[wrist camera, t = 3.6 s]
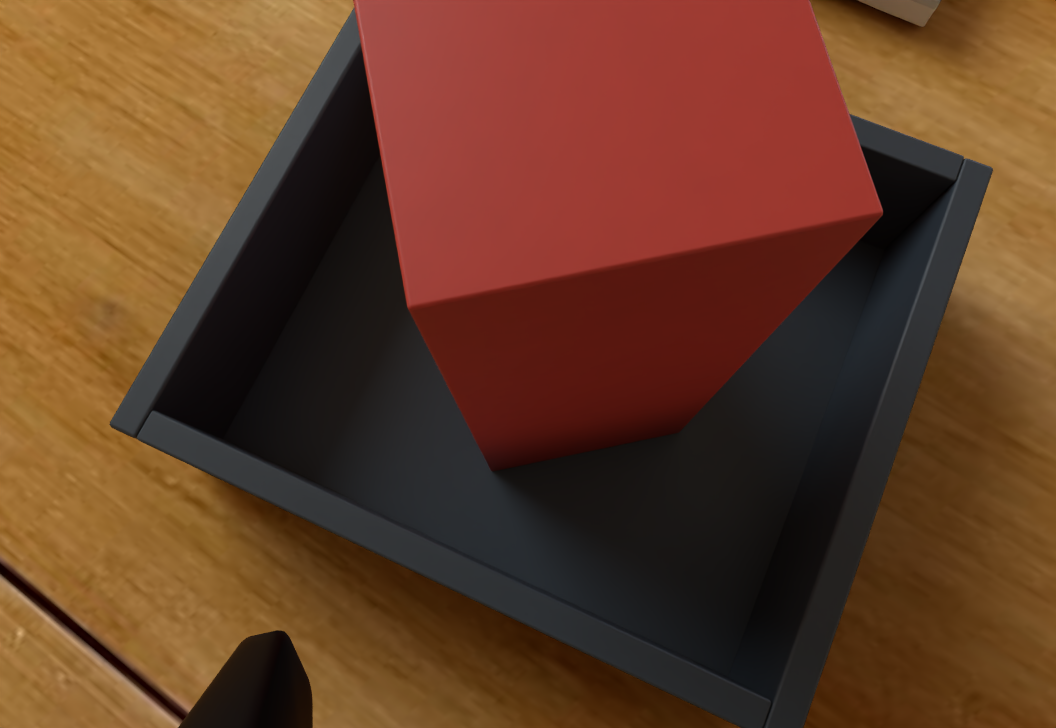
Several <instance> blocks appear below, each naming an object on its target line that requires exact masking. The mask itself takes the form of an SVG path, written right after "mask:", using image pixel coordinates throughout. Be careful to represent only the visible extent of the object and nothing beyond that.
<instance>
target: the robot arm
mask: <svg viewBox="0 0 1056 728" xmlns="http://www.w3.org/2000/svg"><path fill="white" fill-rule="evenodd" d="M178 728H313V717H312V691H311V686H310V682H309V679H308V677H307V674H306V672H305V670H304V668H303V666H302V663H301V661H300V659H299V657H298V655H297V652H296V650H295V648H294V646H293V644H292V641H291V639H290V638H289V636H288V635H287V634H286V633H285V632H284V631H273V632H268V633H263V634H259V635H254V636H250V637H248V638H246V639H245V640H243V641H242V642H241V643H240V644H239V646H238V647H237V648H236V650H235V651H234V652H233V654H232V655H231V657H230V658H229V659H228V661H227V662H226V663H225V665H224V666H223V667H222V669H221V670H220V672H219V673H218V674H217V676H216V677H215V678H214V680H213V681H212V682H211V684H210V685H209V686H208V688H207V689H206V691H205V692H204V693H203V695H202V696H201V697H200V699H199V700H198V701H197V703H196V704H195V706H194V707H193V708H192V710H191V711H190V712H189V714H188V715H187V716H186V718H185V719H184V720H183V722H182V723H181V725H180V726H179V727H178Z"/></svg>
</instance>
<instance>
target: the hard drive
mask: <svg viewBox="0 0 1056 728" xmlns="http://www.w3.org/2000/svg"><path fill="white" fill-rule="evenodd" d="M858 1H860V2H862V3H865V4H867V5H869V6H871V7H874V8H876V9H878V10H881V11H883V12H886V13H888V14H891V15H893V16H896V17H899V18H901V19H903V20H906V21H908V22H910V23H913V24H916V25H918V26H921V27H924V26H925V24H926V23H927V21H928V19H929V18H930V16H931V15H932V14H933V12H934V11H935V10H936V8H937V7H938V5H939V3H940V1H941V0H858Z"/></svg>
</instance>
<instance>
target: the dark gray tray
mask: <svg viewBox="0 0 1056 728" xmlns="http://www.w3.org/2000/svg"><path fill="white" fill-rule="evenodd" d="M849 115H850V118H851V120H852V123H853V126H854V129H855V132H856V135H857V138H858V140H859V143H860V146H861V149H862V152H863V155H864V158H865V160H866V163H867V166H868V169H869V172H870V175H871V178H872V180H873V183H874V186H875V189H876V192H877V195H878V198H879V200H880V203H881V206H882V209H883V215H882V216H881V217H880V218H879V220H878V221H877V222H876V223H875V224H874V225H873V226H872V227H871V228H870V229H869V230H868V231H867V232H866V233H865V234H864V236H863V237H862V238H861V239H860V240H859V241H858V242H857V243H856V244H855V245H854V246H853V247H852V248H851V249H850V250H849V252H848V253H847V254H846V255H845V256H844V257H843V258H842V259H841V260H840V261H839V262H838V263H837V264H836V265H835V267H834V268H833V269H832V270H831V271H830V272H829V273H828V274H827V275H826V276H825V277H824V278H823V279H822V280H821V281H820V283H819V284H818V285H817V286H816V287H815V288H814V289H813V290H812V291H811V292H810V293H809V294H808V295H807V296H806V297H805V299H804V300H803V301H802V302H801V303H800V304H799V305H798V306H797V307H796V308H795V309H794V310H793V311H792V312H791V314H790V315H789V316H788V317H787V318H786V319H785V320H784V321H783V322H782V323H781V324H780V325H779V326H778V327H777V328H776V330H775V331H774V332H773V333H772V334H771V335H770V336H769V337H768V338H767V339H766V340H765V341H764V342H763V343H762V344H761V346H760V347H759V348H758V349H757V350H756V351H755V352H754V353H753V354H752V355H751V356H750V357H749V358H748V359H747V361H746V362H745V363H744V364H743V365H742V366H741V367H740V368H739V369H738V370H737V371H736V372H735V373H734V374H733V375H732V377H731V378H730V379H729V380H728V381H727V382H726V383H725V384H724V385H723V386H722V387H721V388H720V389H719V390H718V391H717V393H716V394H715V395H714V396H713V397H712V398H711V399H710V400H709V401H708V402H707V403H706V404H705V405H704V406H703V408H702V409H701V410H700V411H699V412H698V413H697V414H696V415H695V416H694V417H693V418H692V419H691V420H690V421H689V422H688V424H687V425H686V426H685V427H684V428H683V429H682V430H681V431H680V432H679V433H675V434H670V435H665V436H660V437H655V438H651V439H646V440H641V441H636V442H631V443H627V444H622V445H617V446H612V447H607V448H603V449H598V450H593V451H588V452H583V453H579V454H574V455H569V456H564V457H559V458H555V459H550V460H545V461H540V462H535V463H531V464H526V465H521V466H516V467H511V468H507V469H502V470H497V471H491V470H490V468H489V466H488V464H487V462H486V460H485V458H484V456H483V454H482V452H481V450H480V448H479V446H478V444H477V442H476V440H475V438H474V437H473V435H472V433H471V431H470V429H469V427H468V425H467V423H466V421H465V419H464V417H463V415H462V413H461V411H460V409H459V407H458V405H457V403H456V401H455V399H454V397H453V395H452V394H451V392H450V390H449V388H448V386H447V384H446V382H445V380H444V378H443V376H442V374H441V372H440V370H439V368H438V366H437V364H436V362H435V360H434V358H433V356H432V354H431V352H430V351H429V349H428V347H427V345H426V343H425V341H424V339H423V337H422V335H421V333H420V331H419V329H418V327H417V325H416V323H415V321H414V319H413V317H412V315H411V313H410V311H409V309H408V308H407V303H406V297H405V291H404V286H403V280H402V274H401V269H400V263H399V257H398V252H397V246H396V240H395V235H394V229H393V223H392V218H391V212H390V206H389V200H388V195H387V189H386V183H385V178H384V172H383V166H382V161H381V155H380V149H379V144H378V138H377V132H376V127H375V121H374V115H373V110H372V104H371V98H370V93H369V87H368V81H367V76H366V70H365V64H364V59H363V53H362V47H361V42H360V36H359V30H358V25H357V19H356V13H355V8H354V9H353V10H352V12H351V14H350V16H349V17H348V19H347V21H346V22H345V24H344V26H343V27H342V29H341V31H340V32H339V34H338V36H337V38H336V39H335V41H334V43H333V44H332V46H331V48H330V49H329V51H328V53H327V55H326V56H325V58H324V60H323V61H322V63H321V65H320V66H319V68H318V70H317V72H316V73H315V75H314V77H313V78H312V80H311V82H310V83H309V85H308V87H307V89H306V90H305V92H304V94H303V95H302V97H301V99H300V100H299V102H298V104H297V106H296V107H295V109H294V111H293V112H292V114H291V116H290V117H289V119H288V121H287V123H286V124H285V126H284V128H283V129H282V131H281V133H280V134H279V136H278V138H277V140H276V141H275V143H274V145H273V146H272V148H271V150H270V151H269V153H268V155H267V157H266V158H265V160H264V162H263V163H262V165H261V167H260V168H259V170H258V172H257V174H256V175H255V177H254V179H253V180H252V182H251V184H250V185H249V187H248V189H247V190H246V192H245V194H244V196H243V197H242V199H241V201H240V202H239V204H238V206H237V207H236V209H235V211H234V213H233V214H232V216H231V218H230V219H229V221H228V223H227V224H226V226H225V228H224V230H223V231H222V233H221V235H220V236H219V238H218V240H217V241H216V243H215V245H214V247H213V248H212V250H211V252H210V253H209V255H208V257H207V258H206V260H205V262H204V264H203V265H202V267H201V269H200V270H199V272H198V274H197V275H196V277H195V279H194V281H193V282H192V284H191V286H190V287H189V289H188V291H187V292H186V294H185V296H184V298H183V299H182V301H181V303H180V304H179V306H178V308H177V309H176V311H175V313H174V315H173V316H172V318H171V320H170V321H169V323H168V325H167V326H166V328H165V330H164V332H163V333H162V335H161V337H160V338H159V340H158V342H157V343H156V345H155V347H154V348H153V350H152V352H151V354H150V355H149V357H148V359H147V360H146V362H145V364H144V365H143V367H142V369H141V371H140V372H139V374H138V376H137V377H136V379H135V381H134V382H133V384H132V386H131V388H130V389H129V391H128V393H127V394H126V396H125V398H124V399H123V401H122V403H121V405H120V406H119V408H118V410H117V411H116V413H115V415H114V416H113V418H112V420H111V422H110V426H111V427H112V428H114V429H116V430H118V431H120V432H122V433H124V434H126V435H128V436H131V437H133V438H136V439H138V440H139V441H141V442H143V443H145V444H147V445H149V446H151V447H153V448H156V449H158V450H160V451H162V452H164V453H166V454H168V455H170V456H172V457H174V458H177V459H179V460H181V461H183V462H185V463H187V464H189V465H191V466H193V467H195V468H198V469H200V470H202V471H204V472H206V473H208V474H210V475H212V476H214V477H216V478H219V479H221V480H223V481H225V482H227V483H229V484H231V485H233V486H235V487H237V488H239V489H242V490H244V491H246V492H248V493H250V494H252V495H254V496H256V497H258V498H260V499H263V500H265V501H267V502H269V503H271V504H273V505H275V506H277V507H279V508H281V509H284V510H286V511H288V512H290V513H292V514H294V515H296V516H298V517H300V518H302V519H304V520H307V521H309V522H311V523H313V524H315V525H317V526H319V527H321V528H323V529H325V530H328V531H330V532H332V533H334V534H336V535H338V536H340V537H342V538H344V539H346V540H349V541H351V542H353V543H355V544H357V545H359V546H361V547H363V548H365V549H367V550H369V551H372V552H374V553H376V554H378V555H380V556H382V557H384V558H386V559H388V560H390V561H393V562H395V563H397V564H399V565H401V566H403V567H405V568H407V569H409V570H411V571H414V572H416V573H418V574H420V575H422V576H424V577H426V578H428V579H430V580H432V581H435V582H437V583H439V584H441V585H443V586H445V587H447V588H449V589H451V590H453V591H455V592H458V593H460V594H462V595H464V596H466V597H468V598H470V599H472V600H474V601H476V602H479V603H481V604H483V605H485V606H487V607H489V608H491V609H493V610H495V611H497V612H500V613H502V614H504V615H506V616H508V617H510V618H512V619H514V620H516V621H518V622H520V623H523V624H525V625H527V626H529V627H531V628H533V629H535V630H537V631H539V632H541V633H544V634H546V635H548V636H550V637H552V638H554V639H556V640H558V641H560V642H562V643H565V644H567V645H569V646H571V647H573V648H575V649H577V650H579V651H581V652H583V653H585V654H588V655H590V656H592V657H594V658H596V659H598V660H600V661H602V662H604V663H606V664H609V665H611V666H613V667H615V668H617V669H619V670H621V671H623V672H625V673H627V674H630V675H632V676H634V677H636V678H638V679H640V680H642V681H644V682H646V683H648V684H651V685H653V686H655V687H657V688H659V689H661V690H663V691H665V692H667V693H669V694H671V695H674V696H676V697H678V698H680V699H682V700H684V701H686V702H688V703H690V704H692V705H695V706H697V707H699V708H701V709H703V710H705V711H707V712H709V713H711V714H713V715H716V716H718V717H720V718H722V719H724V720H726V721H728V722H730V723H732V724H734V725H736V726H739V727H741V728H803V726H804V724H805V721H806V718H807V715H808V712H809V709H810V706H811V703H812V700H813V697H814V694H815V691H816V688H817V685H818V682H819V680H820V677H821V674H822V671H823V668H824V665H825V662H826V659H827V656H828V653H829V650H830V647H831V644H832V641H833V638H834V635H835V633H836V630H837V627H838V624H839V621H840V618H841V615H842V612H843V609H844V606H845V603H846V600H847V597H848V594H849V591H850V589H851V586H852V583H853V580H854V577H855V574H856V571H857V568H858V565H859V562H860V559H861V556H862V553H863V550H864V547H865V544H866V542H867V539H868V536H869V533H870V530H871V527H872V524H873V521H874V518H875V515H876V512H877V509H878V506H879V503H880V500H881V498H882V495H883V492H884V489H885V486H886V483H887V480H888V477H889V474H890V471H891V468H892V465H893V462H894V459H895V456H896V453H897V451H898V448H899V445H900V442H901V439H902V436H903V433H904V430H905V427H906V424H907V421H908V418H909V415H910V412H911V409H912V407H913V404H914V401H915V398H916V395H917V392H918V389H919V386H920V383H921V380H922V377H923V374H924V371H925V368H926V365H927V362H928V360H929V357H930V354H931V351H932V348H933V345H934V342H935V339H936V336H937V333H938V330H939V327H940V324H941V321H942V318H943V316H944V313H945V310H946V307H947V304H948V301H949V298H950V295H951V292H952V289H953V286H954V283H955V280H956V277H957V274H958V271H959V269H960V266H961V263H962V260H963V257H964V254H965V251H966V248H967V245H968V242H969V239H970V236H971V233H972V230H973V227H974V225H975V222H976V219H977V216H978V213H979V210H980V207H981V204H982V201H983V198H984V195H985V192H986V189H987V186H988V183H989V181H990V178H991V175H992V171H993V168H991V167H989V166H987V165H984V164H981V163H978V162H976V161H973V160H970V159H964V157H963V156H962V155H959V154H956V153H954V152H951V151H948V150H945V149H943V148H940V147H937V146H935V145H932V144H929V143H927V142H924V141H921V140H918V139H916V138H913V137H910V136H908V135H905V134H902V133H900V132H897V131H894V130H891V129H889V128H886V127H883V126H881V125H878V124H875V123H873V122H870V121H867V120H864V119H862V118H859V117H856V116H854V115H851V114H849ZM963 159H964V160H963Z"/></svg>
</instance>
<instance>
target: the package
mask: <svg viewBox="0 0 1056 728" xmlns="http://www.w3.org/2000/svg"><path fill="white" fill-rule="evenodd" d="M353 2H354V8H355V13H356V19H357V25H358V30H359V36H360V42H361V47H362V53H363V59H364V64H365V70H366V76H367V81H368V87H369V93H370V98H371V104H372V110H373V115H374V121H375V127H376V132H377V138H378V144H379V149H380V155H381V161H382V166H383V172H384V178H385V183H386V189H387V195H388V200H389V206H390V212H391V218H392V223H393V229H394V235H395V240H396V246H397V252H398V257H399V263H400V269H401V274H402V280H403V286H404V291H405V297H406V303H407V308H408V309H409V311H410V313H411V315H412V317H413V319H414V321H415V323H416V325H417V327H418V329H419V331H420V333H421V335H422V337H423V339H424V341H425V343H426V345H427V347H428V349H429V351H430V352H431V354H432V356H433V358H434V360H435V362H436V364H437V366H438V368H439V370H440V372H441V374H442V376H443V378H444V380H445V382H446V384H447V386H448V388H449V390H450V392H451V394H452V395H453V397H454V399H455V401H456V403H457V405H458V407H459V409H460V411H461V413H462V415H463V417H464V419H465V421H466V423H467V425H468V427H469V429H470V431H471V433H472V435H473V437H474V438H475V440H476V442H477V444H478V446H479V448H480V450H481V452H482V454H483V456H484V458H485V460H486V462H487V464H488V466H489V468H490V470H491V471H497V470H502V469H507V468H511V467H516V466H521V465H526V464H531V463H535V462H540V461H545V460H550V459H555V458H559V457H564V456H569V455H574V454H579V453H583V452H588V451H593V450H598V449H603V448H607V447H612V446H617V445H622V444H627V443H631V442H636V441H641V440H646V439H651V438H655V437H660V436H665V435H670V434H675V433H679V432H680V431H681V430H682V429H683V428H684V427H685V426H686V425H687V424H688V422H689V421H690V420H691V419H692V418H693V417H694V416H695V415H696V414H697V413H698V412H699V411H700V410H701V409H702V408H703V406H704V405H705V404H706V403H707V402H708V401H709V400H710V399H711V398H712V397H713V396H714V395H715V394H716V393H717V391H718V390H719V389H720V388H721V387H722V386H723V385H724V384H725V383H726V382H727V381H728V380H729V379H730V378H731V377H732V375H733V374H734V373H735V372H736V371H737V370H738V369H739V368H740V367H741V366H742V365H743V364H744V363H745V362H746V361H747V359H748V358H749V357H750V356H751V355H752V354H753V353H754V352H755V351H756V350H757V349H758V348H759V347H760V346H761V344H762V343H763V342H764V341H765V340H766V339H767V338H768V337H769V336H770V335H771V334H772V333H773V332H774V331H775V330H776V328H777V327H778V326H779V325H780V324H781V323H782V322H783V321H784V320H785V319H786V318H787V317H788V316H789V315H790V314H791V312H792V311H793V310H794V309H795V308H796V307H797V306H798V305H799V304H800V303H801V302H802V301H803V300H804V299H805V297H806V296H807V295H808V294H809V293H810V292H811V291H812V290H813V289H814V288H815V287H816V286H817V285H818V284H819V283H820V281H821V280H822V279H823V278H824V277H825V276H826V275H827V274H828V273H829V272H830V271H831V270H832V269H833V268H834V267H835V265H836V264H837V263H838V262H839V261H840V260H841V259H842V258H843V257H844V256H845V255H846V254H847V253H848V252H849V250H850V249H851V248H852V247H853V246H854V245H855V244H856V243H857V242H858V241H859V240H860V239H861V238H862V237H863V236H864V234H865V233H866V232H867V231H868V230H869V229H870V228H871V227H872V226H873V225H874V224H875V223H876V222H877V221H878V220H879V218H880V217H881V216H882V215H883V209H882V206H881V203H880V200H879V198H878V195H877V192H876V189H875V186H874V183H873V180H872V178H871V175H870V172H869V169H868V166H867V163H866V160H865V158H864V155H863V152H862V149H861V146H860V143H859V140H858V138H857V135H856V132H855V129H854V126H853V123H852V120H851V118H850V115H849V112H848V109H847V106H846V103H845V100H844V98H843V95H842V92H841V89H840V86H839V83H838V80H837V78H836V75H835V72H834V69H833V66H832V63H831V60H830V58H829V55H828V52H827V49H826V46H825V43H824V40H823V38H822V35H821V32H820V29H819V26H818V23H817V20H816V18H815V15H814V12H813V9H812V6H811V3H810V0H353Z"/></svg>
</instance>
